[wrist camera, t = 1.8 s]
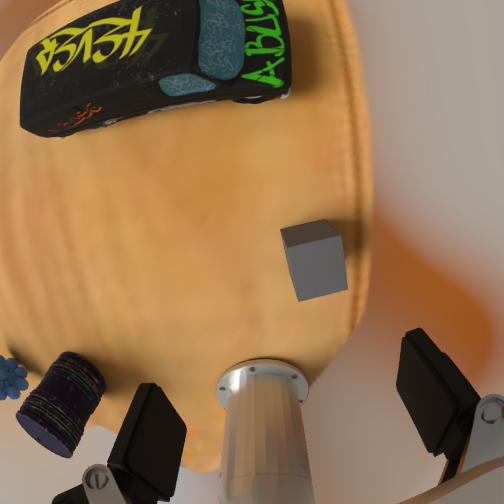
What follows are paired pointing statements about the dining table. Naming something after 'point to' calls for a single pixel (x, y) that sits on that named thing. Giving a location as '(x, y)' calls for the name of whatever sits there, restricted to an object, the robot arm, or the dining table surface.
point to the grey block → (315, 259)
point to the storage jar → (62, 404)
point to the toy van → (154, 62)
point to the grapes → (11, 378)
